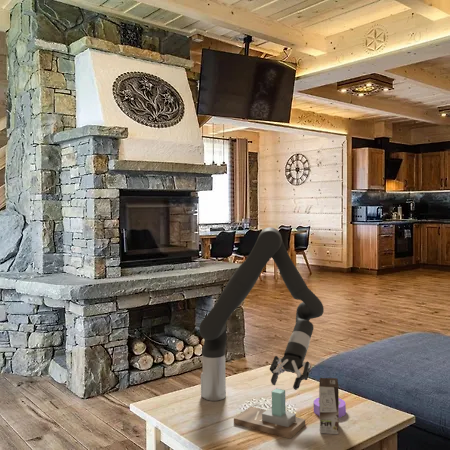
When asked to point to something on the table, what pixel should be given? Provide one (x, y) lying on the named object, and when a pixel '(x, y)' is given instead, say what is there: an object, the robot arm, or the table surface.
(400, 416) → the table surface
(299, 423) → the walnut board
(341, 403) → the masking tape
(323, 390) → the coffee box
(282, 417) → the block
